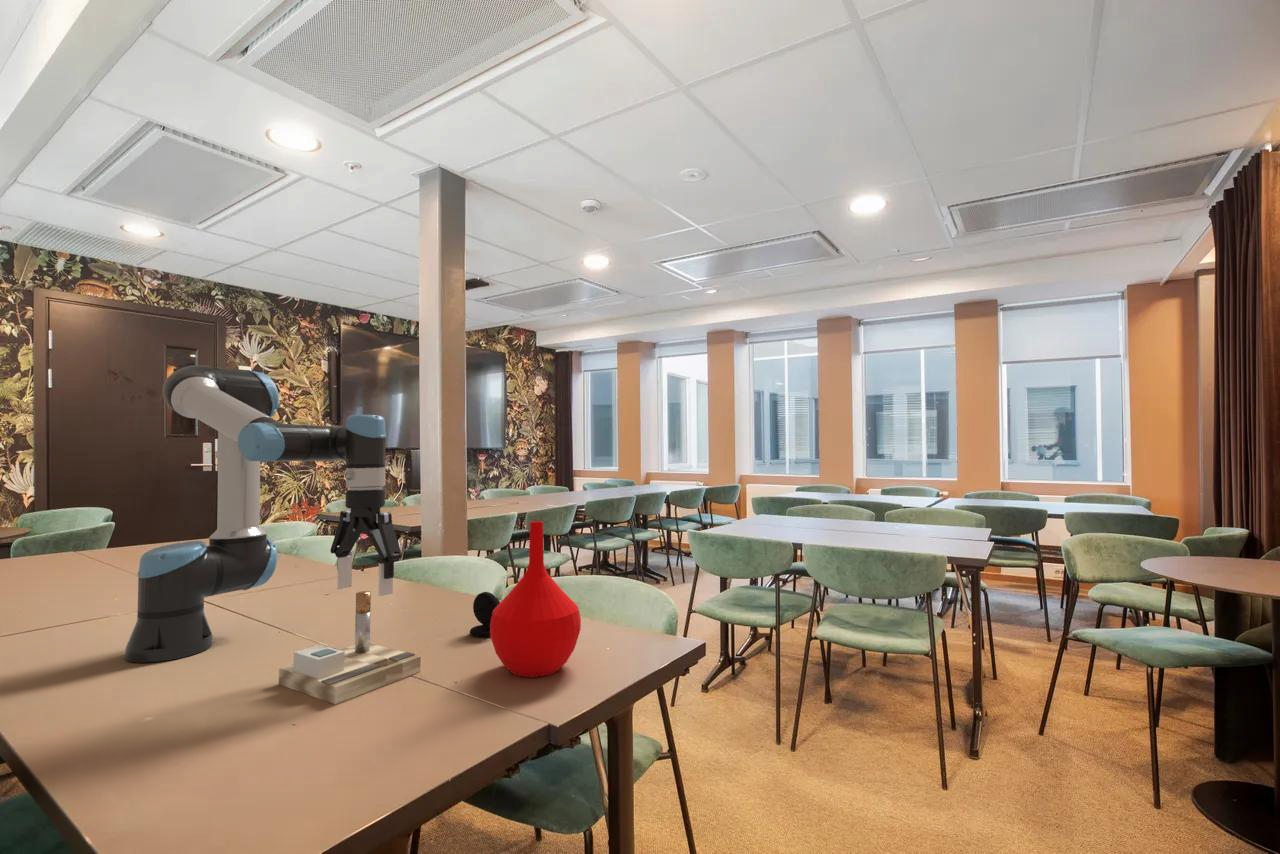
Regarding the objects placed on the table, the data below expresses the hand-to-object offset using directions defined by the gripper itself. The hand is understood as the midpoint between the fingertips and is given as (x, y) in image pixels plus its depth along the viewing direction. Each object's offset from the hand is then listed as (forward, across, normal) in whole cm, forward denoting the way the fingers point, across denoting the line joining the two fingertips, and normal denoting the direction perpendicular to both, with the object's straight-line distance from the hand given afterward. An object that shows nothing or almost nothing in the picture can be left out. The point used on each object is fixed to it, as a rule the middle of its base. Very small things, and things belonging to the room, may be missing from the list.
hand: (364, 591), depth 122 cm
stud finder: (+12, +2, -11) cm, 17 cm away
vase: (+16, +32, +17) cm, 39 cm away
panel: (+15, +4, -5) cm, 16 cm away
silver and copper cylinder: (+12, 0, 0) cm, 12 cm away
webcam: (+16, +6, +29) cm, 33 cm away
